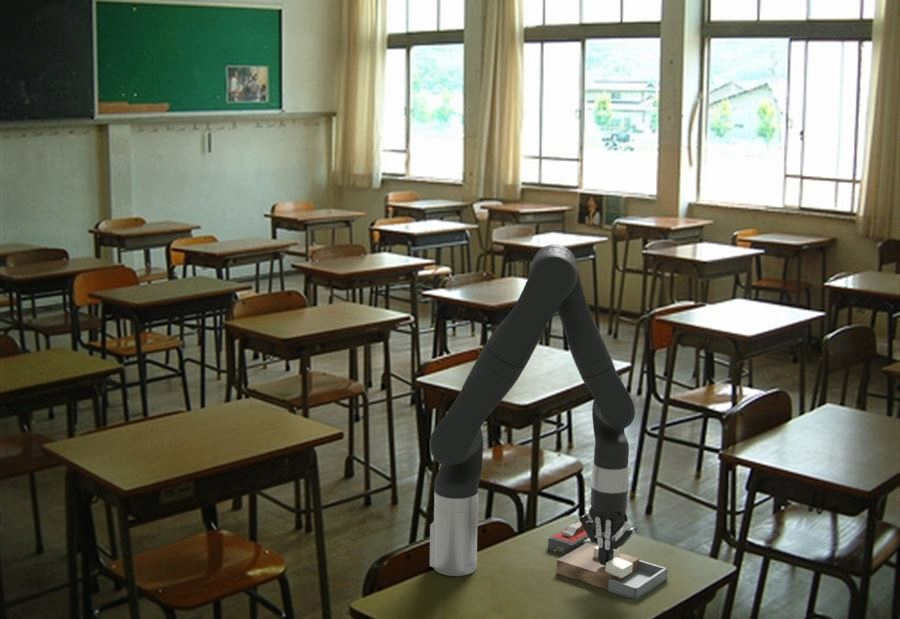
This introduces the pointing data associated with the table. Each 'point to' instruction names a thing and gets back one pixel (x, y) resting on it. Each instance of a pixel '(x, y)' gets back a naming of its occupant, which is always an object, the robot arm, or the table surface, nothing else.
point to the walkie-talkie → (569, 539)
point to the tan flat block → (590, 566)
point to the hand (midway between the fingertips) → (605, 564)
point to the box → (639, 581)
